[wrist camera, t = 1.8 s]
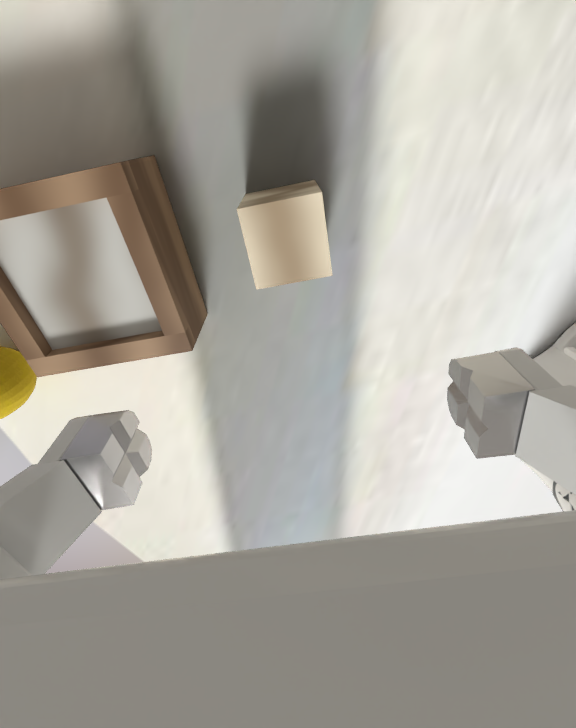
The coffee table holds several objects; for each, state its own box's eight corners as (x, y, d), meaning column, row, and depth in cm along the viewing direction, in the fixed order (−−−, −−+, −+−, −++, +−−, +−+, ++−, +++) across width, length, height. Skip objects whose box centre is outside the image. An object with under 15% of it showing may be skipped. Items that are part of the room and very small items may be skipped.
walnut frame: (154, 155, 25) (120, 162, 20) (207, 313, 31) (192, 350, 26) (-6, 191, 26) (-79, 206, 21) (77, 337, 32) (37, 377, 27)
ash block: (314, 179, 26) (321, 191, 21) (323, 249, 29) (332, 275, 23) (245, 193, 26) (236, 209, 21) (261, 261, 29) (256, 289, 24)
